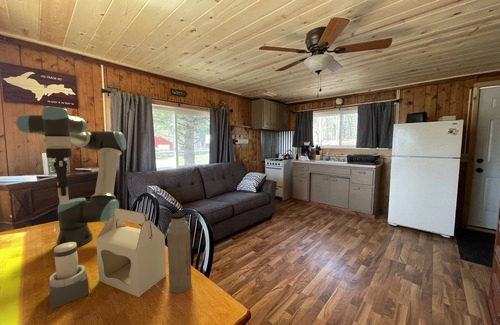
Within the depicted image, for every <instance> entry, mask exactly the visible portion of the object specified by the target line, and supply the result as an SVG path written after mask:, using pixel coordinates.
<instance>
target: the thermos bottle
mask: <svg viewBox="0 0 500 325" xmlns="http://www.w3.org/2000/svg"><path fill="white" fill-rule="evenodd" d="M170 218H171V220H170V221H171V222H169V224H168V228H167V230H166V234H167V235H166V236H167V237H166V238H167V258H168V259H167V260H168V263H167V264H168V283H169V286H168V287H169V288H168V289H169V290H170V292H172V293H174V294H182V293H184V292H187V291H188V290H189V289H190V288H191V286H192V263H191V262H192V258H191V257H192V255H191V254H192V253H191V228H190V226H189V222H188V221H187V220H186V213H184V212H175V213H172V214H170Z"/></svg>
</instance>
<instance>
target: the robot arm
mask: <svg viewBox="0 0 500 325" xmlns="http://www.w3.org/2000/svg"><path fill="white" fill-rule="evenodd" d="M41 111H42V113H41V114H23V115H22V114H21V115H19V116H18V117H17V119H16V126H17V128H18V130H19V131H21V132H22V133H25V134H38V135H41V136H42V135H43V136H44V138H42V142H43V143H45V147H46V149H45V154H46V155H45V156H46V158H47V159H54V161H55V162H53V163H52V164H53V168H54V172H55V174H56V183H57V184H56V185H55V188H56V189H57V194H58V195H57V196H58V199H59V200H58V201H59V204H58V205H57V217H58V218H57V219H58V225H59V233H58V236H57V239H56V243H55V244H56V246H58V245H61V244H64V243H68V242H76V244H77V248H78V247H80V246H84V245H86V244H88V243H90V242H91V241H92V240H93V238H94V236H93V233H92V231H91V229H90V227H89V224H91V223H105V222H106V223H107V221H108V220H109V218H110V217H111V215H115V209H116V208H119V209H120V201H119V200H118V199H117V197H116V196H115V195H114V192H115V184H116V175H117V169H118V161H119V157H120V156H121V155H122V153H123V152H122V151H126V149H127V140H126V136H125V135H124V133H123V132H121V131H105V130H103V131H102V130H101V131H99V130H96V131H95V130H94V131H93V130H92V131H91V130H90V131H89V130H87V128H88V124H87V122H86V120H85V119H84V118H82V117H80V116H77V115H69V111H68V109H66V108H63V107H58V106H57V107H54V106H45V107H43V108H42V110H41ZM72 144H73V145H74V146H76V147H78V148H82V149H86V150H89V151H90V150H91V151H98V153H100V161H99V166H98V173H97V180H96V185H95V190H94V191H95V192H94V194H92V195H91V196H90V199H89V200H87V199H86V197H77V198H72V199H70V198H69V196H70V195H69V187H68V186H69V183H68V178H67V173H68V162H67V161H66V160H65V158H67V159H68V158H72V148H71V147H72ZM88 223H89V224H88Z"/></svg>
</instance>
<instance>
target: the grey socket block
mask: <svg viewBox="0 0 500 325" xmlns="http://www.w3.org/2000/svg"><path fill="white" fill-rule="evenodd" d="M78 267H79V273H78V274H77V275H75V276H73V277H70V278H67V279H63V280H57V275H56V271H55V272H54V273H52V274H51V275H50V276H49V277H48V278H49V282H48V284H49V301H50V302H49V303H50V308H51V310H53V309H56V308H58V307H61V306H64V305H65V304H68V303H71V302H73V301H76V300H78V299H81V298H84V297H86V296H89V295H90V288H89V278H88V274H87V271H86V267H85V265H83V264H78Z"/></svg>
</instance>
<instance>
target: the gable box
mask: <svg viewBox="0 0 500 325" xmlns="http://www.w3.org/2000/svg"><path fill="white" fill-rule="evenodd" d="M149 216H150V215H149V214H145V213H144V212H141V211H134V210H129V209H124V208H120V207H119V208H116V209H115V215H111V217H110V218H109V220H108V221H106V223H105V224H104V226H103V228H102V229H101V231H100V232H99V234H98V235H97V237H96V238H95V243H96V255H97V269H98V281H99V282H100V283H102V284H106V285H108V286H110V287H114V288H116V289H118V290H120V291H123V292H125V293H128V294H130V295H133V296H135V297H138V298H140V297H141V296H142V295H143V294H145V293H146V292H147V291H148V290H151V288H152V287H153V286H155V285H156V284H158V283H159V282H161V280H163V279H164V278H165V277H166V276H167V259H166V258H167V257H166V242H165V241H166V240H165V239H166V238H165V237H166V236H165V234H164V232H162V231H161V230H160V229H159V227H157V226H156V225H155V224H154V223H153V221H152V220H148V219H149ZM125 222H129V223H132V224H136V225H137V224H138V225H141V227H140V228H138V227H137V228H136V227H132V226H127V225H126V223H125Z"/></svg>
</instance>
